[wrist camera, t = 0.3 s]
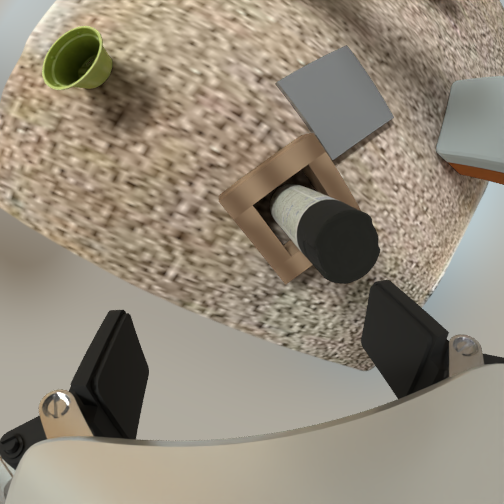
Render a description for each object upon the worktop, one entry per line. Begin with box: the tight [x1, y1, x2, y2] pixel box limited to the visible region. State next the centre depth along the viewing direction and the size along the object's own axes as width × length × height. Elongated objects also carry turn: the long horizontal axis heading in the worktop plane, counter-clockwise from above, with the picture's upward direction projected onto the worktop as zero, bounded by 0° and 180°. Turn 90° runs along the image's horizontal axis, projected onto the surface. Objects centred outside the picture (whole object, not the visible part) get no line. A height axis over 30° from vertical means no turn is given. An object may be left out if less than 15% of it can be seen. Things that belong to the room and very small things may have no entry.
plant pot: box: [42, 26, 113, 90], centre depth 25 cm, size 9×9×9 cm
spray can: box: [270, 184, 380, 284], centre depth 31 cm, size 7×7×20 cm
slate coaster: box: [276, 45, 394, 160], centre depth 35 cm, size 14×14×1 cm
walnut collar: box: [219, 133, 361, 284], centre depth 38 cm, size 15×15×5 cm
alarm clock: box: [436, 76, 504, 185], centre depth 29 cm, size 18×9×21 cm, turn 158°
